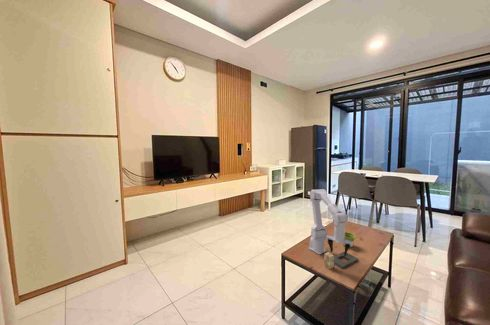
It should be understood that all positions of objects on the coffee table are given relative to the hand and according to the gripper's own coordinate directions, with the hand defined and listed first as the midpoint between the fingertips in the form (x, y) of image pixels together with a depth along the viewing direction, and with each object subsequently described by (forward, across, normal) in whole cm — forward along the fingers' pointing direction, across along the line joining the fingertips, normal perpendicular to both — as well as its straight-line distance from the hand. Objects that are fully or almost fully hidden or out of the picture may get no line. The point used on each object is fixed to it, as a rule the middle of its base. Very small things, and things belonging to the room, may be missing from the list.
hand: (338, 253), depth 126 cm
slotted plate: (+10, +2, +10) cm, 14 cm away
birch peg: (+10, -5, -2) cm, 11 cm away
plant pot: (+10, +1, +33) cm, 35 cm away
